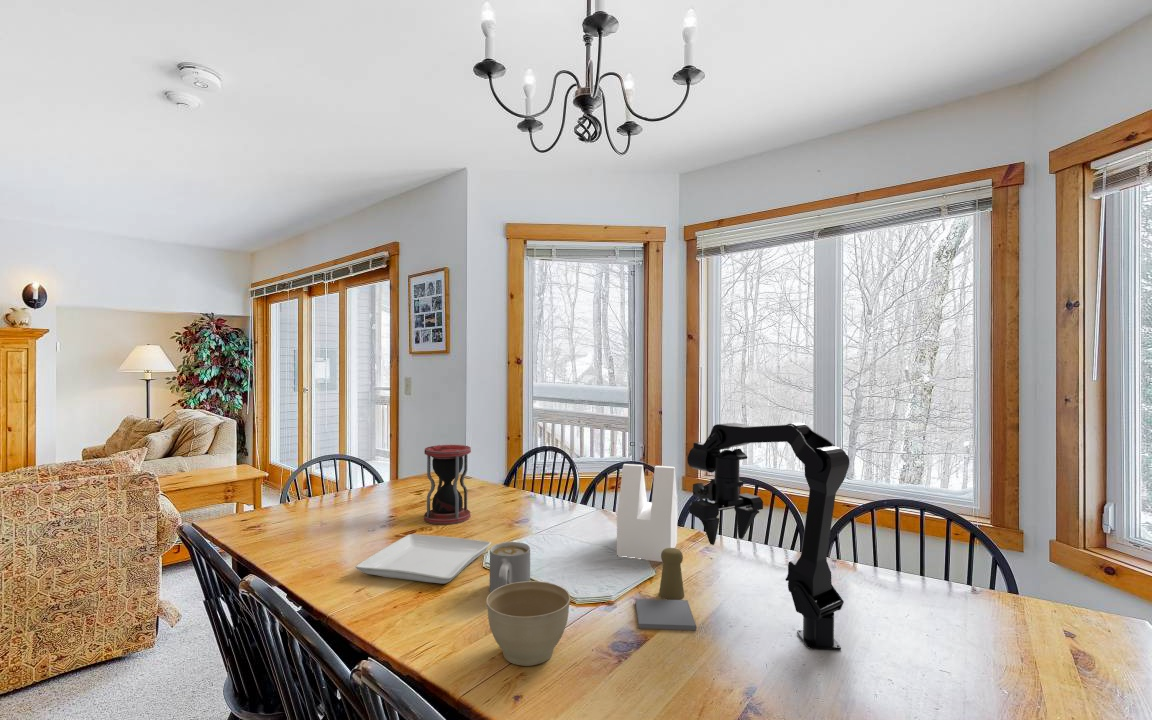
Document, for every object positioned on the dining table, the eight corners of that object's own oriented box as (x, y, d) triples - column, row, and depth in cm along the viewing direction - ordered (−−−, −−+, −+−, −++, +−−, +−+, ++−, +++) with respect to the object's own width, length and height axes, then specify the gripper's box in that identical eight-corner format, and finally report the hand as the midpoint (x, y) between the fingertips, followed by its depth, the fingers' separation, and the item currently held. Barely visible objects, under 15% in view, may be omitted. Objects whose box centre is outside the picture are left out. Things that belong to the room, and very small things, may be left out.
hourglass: (457, 509, 204) (457, 442, 204) (478, 519, 191) (479, 448, 191) (416, 516, 193) (416, 447, 193) (436, 528, 181) (436, 453, 181)
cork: (684, 601, 127) (684, 554, 127) (658, 599, 128) (658, 552, 128) (684, 590, 133) (684, 546, 133) (659, 588, 134) (659, 544, 134)
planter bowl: (585, 645, 107) (585, 591, 107) (538, 688, 93) (539, 625, 93) (519, 625, 115) (519, 574, 115) (468, 661, 102) (468, 603, 102)
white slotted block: (670, 563, 152) (671, 473, 152) (616, 557, 156) (617, 470, 156) (677, 541, 170) (677, 461, 170) (628, 536, 174) (629, 458, 174)
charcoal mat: (696, 630, 114) (696, 625, 114) (638, 628, 114) (638, 623, 114) (687, 604, 126) (687, 600, 126) (635, 602, 126) (635, 598, 126)
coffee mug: (499, 578, 140) (500, 540, 140) (535, 583, 137) (536, 544, 137) (475, 600, 127) (476, 558, 127) (515, 606, 124) (515, 563, 124)
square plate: (352, 580, 139) (353, 565, 139) (409, 544, 166) (410, 532, 166) (449, 591, 133) (449, 575, 133) (492, 553, 159) (492, 539, 159)
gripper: (731, 466, 140) (730, 526, 140) (674, 473, 131) (674, 537, 131) (764, 474, 131) (764, 539, 131) (706, 482, 122) (705, 552, 122)
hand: (726, 541), depth 129 cm, fingers open, 9 cm apart
